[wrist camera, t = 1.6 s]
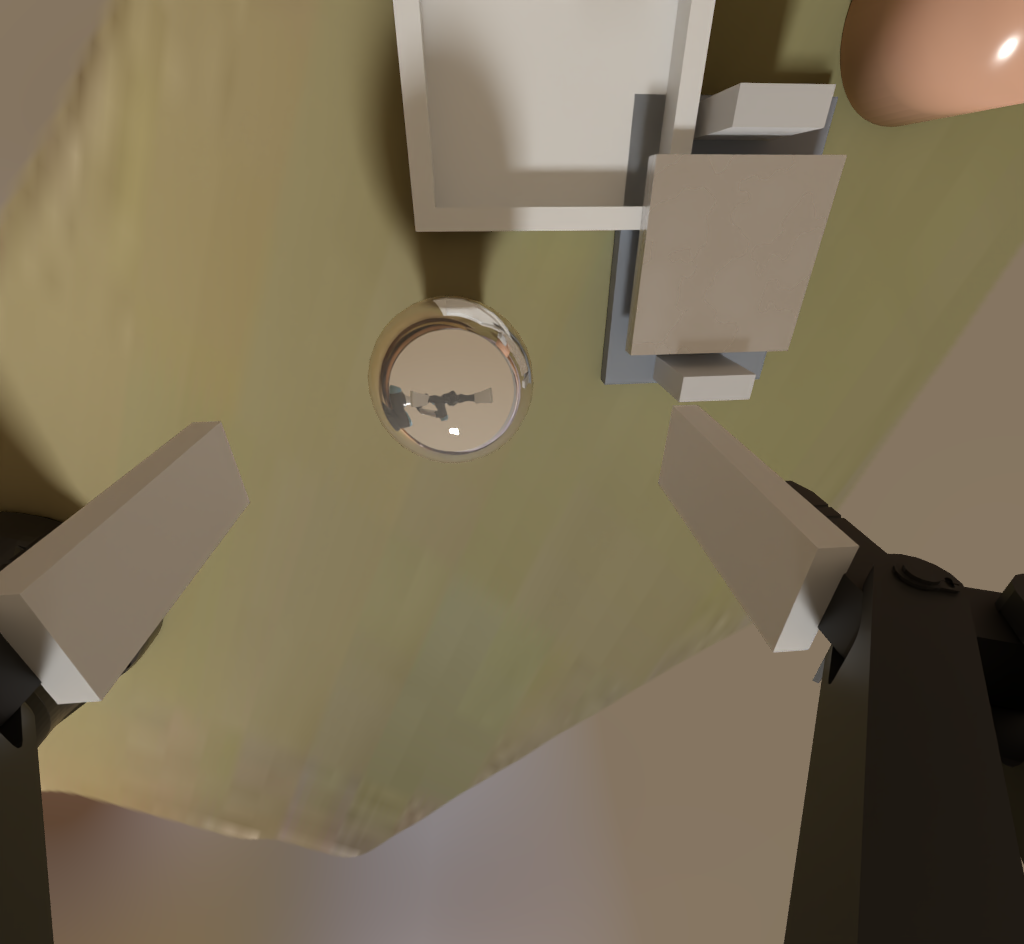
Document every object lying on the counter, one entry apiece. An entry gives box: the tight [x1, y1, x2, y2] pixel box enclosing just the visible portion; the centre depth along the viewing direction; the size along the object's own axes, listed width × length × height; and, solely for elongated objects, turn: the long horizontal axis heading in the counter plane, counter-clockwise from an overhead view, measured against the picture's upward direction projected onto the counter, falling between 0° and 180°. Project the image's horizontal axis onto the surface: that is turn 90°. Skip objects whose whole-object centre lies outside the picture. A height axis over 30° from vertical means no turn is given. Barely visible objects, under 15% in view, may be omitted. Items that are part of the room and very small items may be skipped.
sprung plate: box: [625, 154, 847, 355], centre depth 23 cm, size 9×9×1 cm
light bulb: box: [368, 295, 534, 463], centre depth 22 cm, size 7×7×12 cm
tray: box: [393, 0, 716, 232], centre depth 20 cm, size 13×13×2 cm
